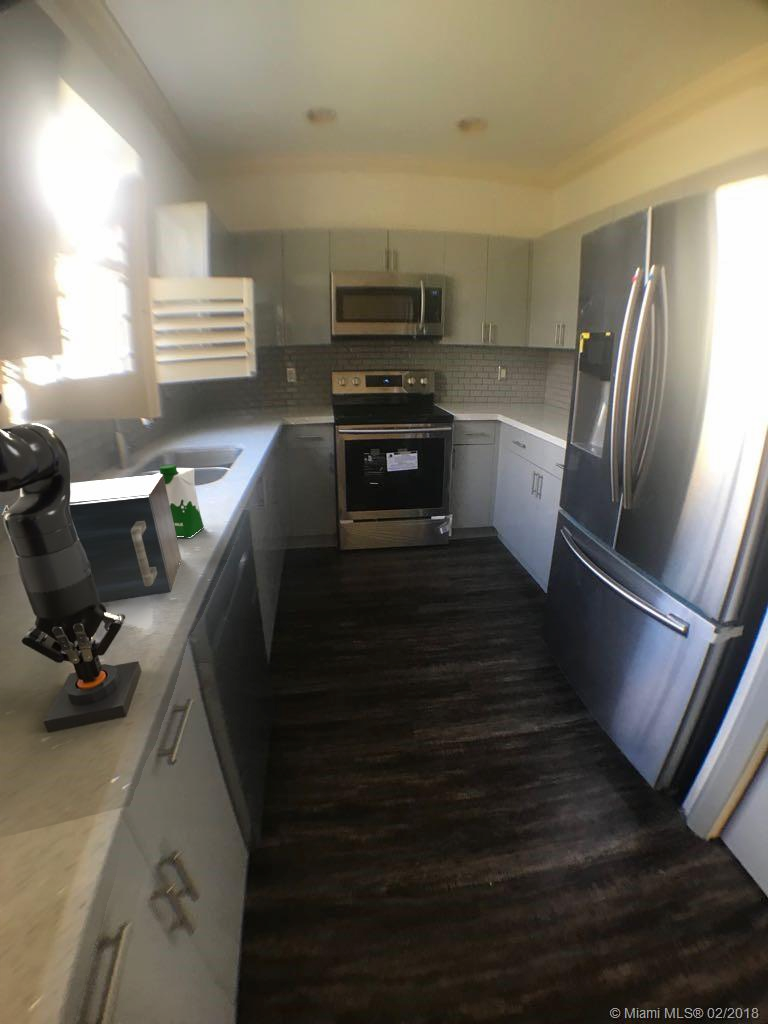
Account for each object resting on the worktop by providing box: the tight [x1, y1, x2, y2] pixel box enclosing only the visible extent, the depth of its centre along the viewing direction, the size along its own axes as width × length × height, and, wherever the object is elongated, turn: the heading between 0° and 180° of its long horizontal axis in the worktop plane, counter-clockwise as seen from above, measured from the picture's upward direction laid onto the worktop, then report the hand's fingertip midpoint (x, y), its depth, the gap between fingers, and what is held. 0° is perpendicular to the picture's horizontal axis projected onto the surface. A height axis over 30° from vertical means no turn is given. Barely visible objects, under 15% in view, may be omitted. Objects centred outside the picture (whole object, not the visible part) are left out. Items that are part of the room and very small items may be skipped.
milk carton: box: [154, 463, 205, 537], centre depth 125 cm, size 9×9×20 cm
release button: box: [77, 671, 107, 690], centre depth 68 cm, size 4×4×2 cm
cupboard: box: [70, 474, 182, 590], centre depth 100 cm, size 15×20×22 cm
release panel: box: [43, 660, 142, 734], centre depth 69 cm, size 10×10×4 cm
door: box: [70, 495, 172, 603], centre depth 90 cm, size 6×20×22 cm, turn 105°
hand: (92, 678), depth 68 cm, fingers closed
